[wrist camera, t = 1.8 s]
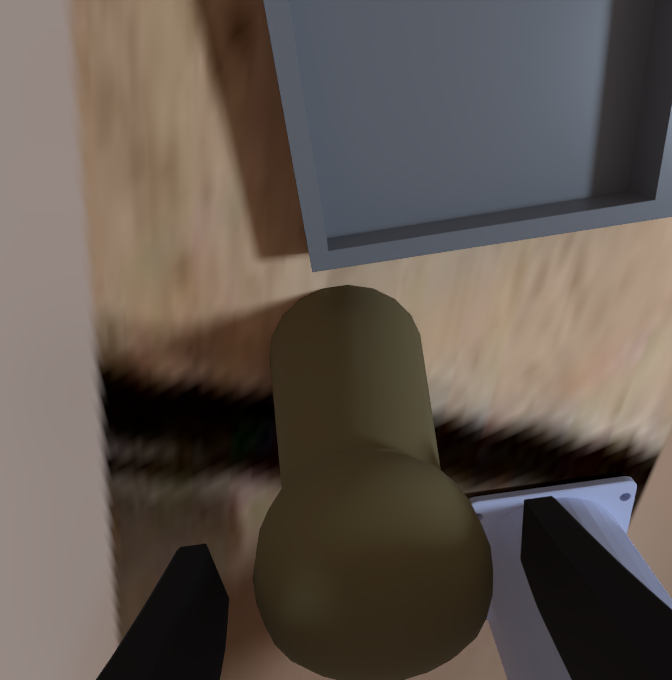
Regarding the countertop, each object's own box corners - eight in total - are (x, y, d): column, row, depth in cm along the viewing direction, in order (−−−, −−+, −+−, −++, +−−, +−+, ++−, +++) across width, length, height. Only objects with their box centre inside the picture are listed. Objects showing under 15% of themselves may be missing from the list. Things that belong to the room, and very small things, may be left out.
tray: (632, 202, 16) (671, 216, 14) (312, 252, 17) (312, 272, 15) (706, -283, 11) (781, -354, 9) (233, -194, 11) (218, -247, 9)
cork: (265, 285, 17) (201, 542, 7) (429, 284, 17) (576, 532, 8) (273, 418, 20) (235, 730, 10) (414, 416, 20) (508, 718, 10)
